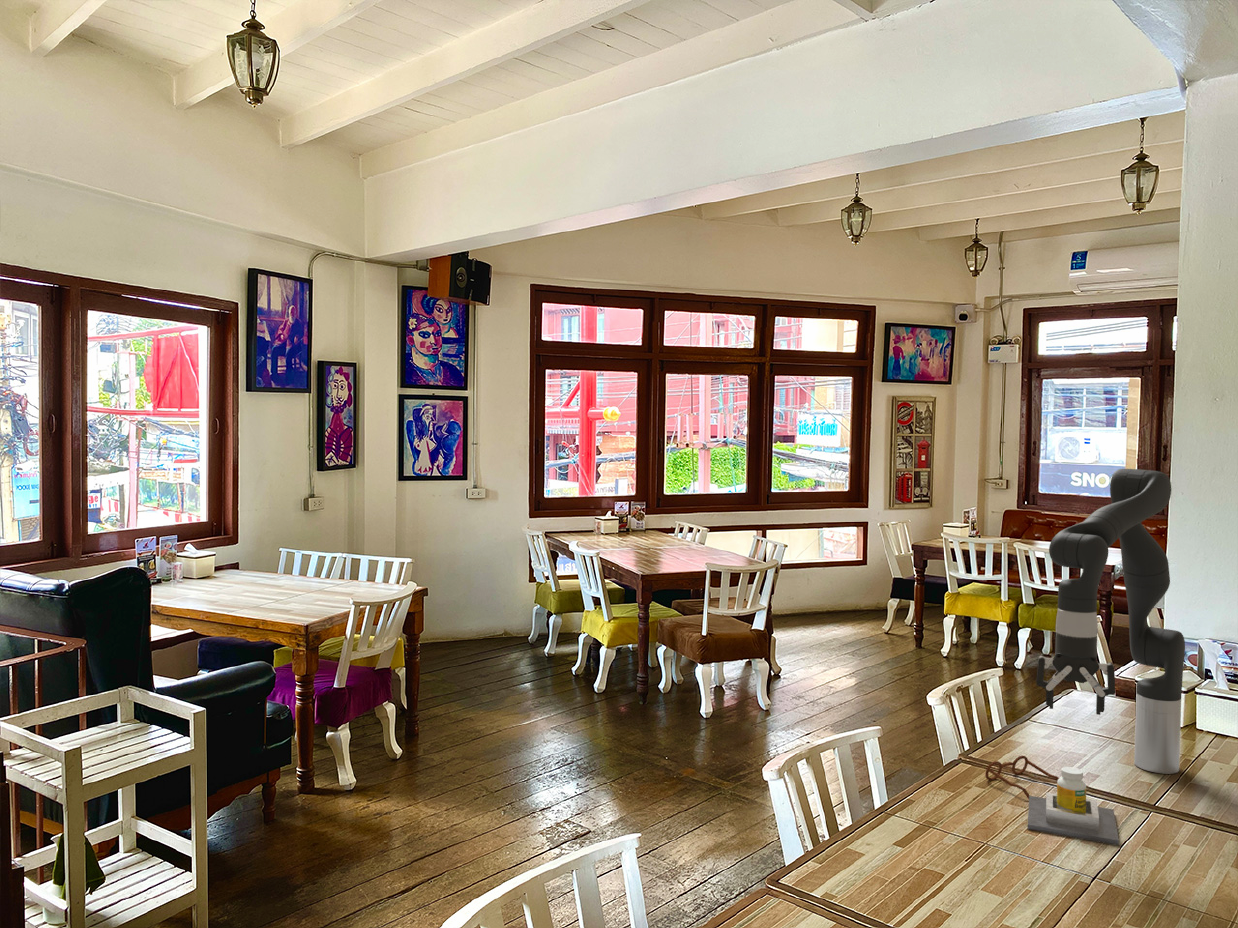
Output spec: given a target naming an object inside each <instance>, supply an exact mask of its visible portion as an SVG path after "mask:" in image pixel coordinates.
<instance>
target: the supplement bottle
mask: <svg viewBox="0 0 1238 928" xmlns="http://www.w3.org/2000/svg"><path fill="white" fill-rule="evenodd" d="M1060 775H1061V777H1059V779H1058V780H1056V781H1057V782H1056V784H1057V785H1056V794H1057V809H1063V810H1069V811H1075V812H1080V813H1086V799H1087V783H1086V782H1085V781H1084V780H1083V779H1084V771H1083V770H1082V769H1080V768H1077V767H1073V766H1072V767H1071V766H1063V767H1062V768H1061V769H1060Z"/></svg>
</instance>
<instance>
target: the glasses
mask: <svg viewBox="0 0 1238 928" xmlns="http://www.w3.org/2000/svg"><path fill="white" fill-rule="evenodd" d="M1023 759H1024V765H1023V767H1022V768H1021V770H1019V771H1016V765H1017V763H1018V761H1020V760H1023ZM995 765H998V771H997V772H996V771H994V770H993V769H991V768H992V766H995ZM1028 765H1029V766H1031V767H1032V768H1034V769H1036V770H1037V771H1039V772H1040V773H1042V774H1044V775H1045V776H1047V777H1048V778H1051V779H1054V780H1056V781H1058V779H1059V778H1060V777H1059V776H1057V775H1054V774H1051V773H1049V772H1048V771H1046V770H1044V769H1042V768H1041V767H1039V766H1038V765H1036V764H1035V763H1033V762H1032V761H1030V760H1029V759H1028V757H1027V756H1026V755H1019V756H1018V757H1016V758H1015V759H1014V761H1013V762H1012V761H1009V762H1005V763H1004V762H1003V763H1001V761H998V760H994V761H992V762H991V763H989V764H988V766H987V767H986V770H985V778H986V780H988V781H989V782H991V781H994V780H996V779H1000V780H1001V782H1004V783H1006V784H1007V785H1008V786H1011V787H1013V788H1018V789H1019V790H1021V791H1022V792H1023V794H1024V795H1025V796H1026V797H1027V799H1028V800H1029V796H1031V795H1030V793H1028V791H1027V790H1026V788H1025V787H1024V786H1022V785H1019V784H1017V783H1014V782H1013V783H1012V782H1011V781H1010V780H1008V779H1006V778H1005V777H1003V776H1002V775H1001V773H1002V769H1003V768H1005V767H1008V766H1012V767H1011V772H1012V774H1014V775H1016V776H1018V775H1022V774H1023V773H1024V772H1025V771H1026V769H1027V767H1028ZM989 773H990V774H992V775H994V776H993V777H990V775H989Z"/></svg>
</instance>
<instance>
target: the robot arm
mask: <svg viewBox="0 0 1238 928" xmlns="http://www.w3.org/2000/svg"><path fill="white" fill-rule="evenodd" d="M1110 478H1111V479H1110V483H1109V493H1110V494H1109V495H1110V502H1111V503H1109V504H1107V505H1105V506H1102V507H1100V508H1097V509H1096V510H1095V511H1093V512H1092V513H1091V514H1090V515H1088V517H1086V518H1085V519H1084V520H1083V521H1082V522H1079V523H1076V524H1074V525H1072V526H1068V527H1066V528H1064V529H1062V530H1060V531H1059V532H1057V534H1055V535H1054V536H1053V537H1052V539H1051V542H1050V543H1049V546H1048V551H1049V552H1048V553H1049V554H1048V555H1049V557H1050V559H1051V561H1053V563H1055V564H1056V565H1058V566H1060V567H1063V568H1072V569H1082V573H1081V576H1079V578H1070V579H1063V580H1062V581H1060V582H1059V584H1058V588H1057V589H1058V592H1057V593H1058V594H1057V613H1056V618H1055V619H1056V620H1055V647H1054V648H1055V650H1054V652H1055V653H1054V657H1053V658H1051V657H1045V656H1044V655H1039V656H1038V661H1037V669H1036V670H1037V671H1036V672H1037V673H1036V679H1035V680H1036V681H1035V682H1036V686H1037V687H1041V688H1043V689H1045V704H1046V706H1048V707H1049V709H1050V710H1054V689H1055V687H1056V686H1057V685H1059V683H1060V682H1062V681H1063V680H1064V681H1066V682H1067V683H1068V682H1069V683H1072V682H1073V683H1074V682H1076V683H1079V684H1085V683H1087V682H1088V684H1089V686H1091V688H1092V689H1094V691H1095V692H1096V700H1095V703H1096V704H1095V707H1096V708H1095V712H1096V713H1095V714H1096V715H1099V716H1100V715H1101V713H1104V711H1105V703H1106V702H1105V700H1106V697H1107V696H1110V695H1111V696H1114V695H1115V694H1116V677H1115V675H1116V674H1115V666H1114V663H1113V662H1110V661H1109V662H1107V663H1102V662H1100V663H1099V662H1098V659H1097V656H1098V655H1097V654H1098V633H1099V629H1098V623H1099V621H1098V615H1097V611H1098V610H1097V607H1098V606H1097V605H1098V590H1099V586H1100V582H1101V579H1102V575H1103V572H1104V569H1105V567H1106V564H1107V562H1108V557H1109V548H1110V547H1112V546H1113V544H1114V543H1116V541H1117V540H1119V545H1120V546H1119V547H1120V553H1121V554H1120V555H1121V566H1122V573H1123V581H1124V587H1125V592H1126V600H1127V607H1128V611H1127V612H1128V629H1129V630H1128V631H1129V634H1128V636H1129V648H1130V653H1131V654H1130V655H1131V657H1132V660H1133V661H1134V662H1135V663H1136V664H1139V665H1143V666H1148V667H1154V668H1160V669H1164V673H1163V674H1162V675H1160V676H1156V677H1148V678H1143V679H1140V680H1138V681H1137V683H1136V689H1135V691H1136V697H1135V701H1136V702H1135V726H1134V727H1135V729H1134V730H1135V731H1134V753H1133V754H1134V759H1133V760H1134V761H1133V765H1135V766H1136V767H1138V768H1140V769H1142V770H1144V771H1148V772H1152V773H1157V774H1165V775H1168V774H1169V775H1172V774H1177V773H1179V772H1180V759H1181V758H1180V755H1181V727H1182V724H1181V723H1182V722H1181V721H1182V719H1181V718H1182V693H1183V692H1182V690H1183V677H1184V676H1183V673H1184V663H1185V655H1186V654H1185V652H1186V640H1185V636H1184V635H1183V633H1182V632H1180V631H1179V630H1175V629H1168V628H1160V627H1153V626H1149V625H1148V617H1149V615H1150V613H1151V612H1152V610H1153V609H1154V607H1155V606H1156V605H1157V604H1158V603H1159V602H1160V601H1161V600H1162V599H1163V597H1164V596H1165V594H1166V593H1167V592H1168V590H1169V588H1170V586H1171V577H1170V568H1169V559H1168V557H1167V555H1166V552H1165V551H1164V550H1163V548H1162V547H1161V546H1160V544H1159V543H1158V542H1157V540H1156V539H1155V538H1154V537H1153V536H1152V535H1151V534H1150V532H1149V531H1148V530H1147V528H1145V526H1144V525H1143V523H1142V522H1145V520H1147V519H1149V518H1151V517H1154V515H1156V514H1158V513H1160V512H1161V511H1163V510H1164V509H1166V507H1167V506H1168V503H1170V499H1171V495H1172V482H1171V480H1170V477H1169V476H1168V475H1167V474H1166V473H1164V472H1162V471H1158V470H1152V469H1151V470H1149V469H1138V468H1118V469H1117V470H1115V471H1114V472H1113V473H1112V476H1111V477H1110ZM1050 665H1052V666H1053V667H1054V668H1055V669H1056V672H1055V673H1054V674H1053V675H1052V677H1051V678H1050V679H1049V680H1044V676H1045V675H1044V674H1045V669H1048V668H1049V667H1050ZM1099 670H1101V671H1102V673H1103V675H1104V676H1107V677H1106V678H1107V680H1106V681H1107V682H1106V683H1107V686H1106V687H1103V686H1102V685H1101V684H1100V683H1099V681H1098V680H1097V678H1096V676H1095V674H1096V673H1098V671H1099Z"/></svg>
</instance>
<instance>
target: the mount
mask: <svg viewBox="0 0 1238 928" xmlns="http://www.w3.org/2000/svg"><path fill="white" fill-rule="evenodd" d="M1045 794H1046V795H1045V797H1046V798H1045V797H1041V796H1034V795H1030V796H1029V799H1028V811H1027V812H1028V813H1027V830H1030V831H1035V832H1042V833H1045V834H1046V833H1047V834H1052V835H1057V836H1062V837H1069V838H1075V839H1079V840H1085V841H1091V842H1096V843H1101V844H1102V843H1103V844H1107V845H1113V846H1120V839H1119V833H1118V826H1117V822H1116V817H1115V816H1116V815H1115V810H1114V809H1112V808H1107V807H1101V806H1098V800H1096V799H1089V798H1086V813H1080V812H1075V811H1069V810H1063V809H1057V793H1055V792H1054V793H1053V792H1046V793H1045Z"/></svg>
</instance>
